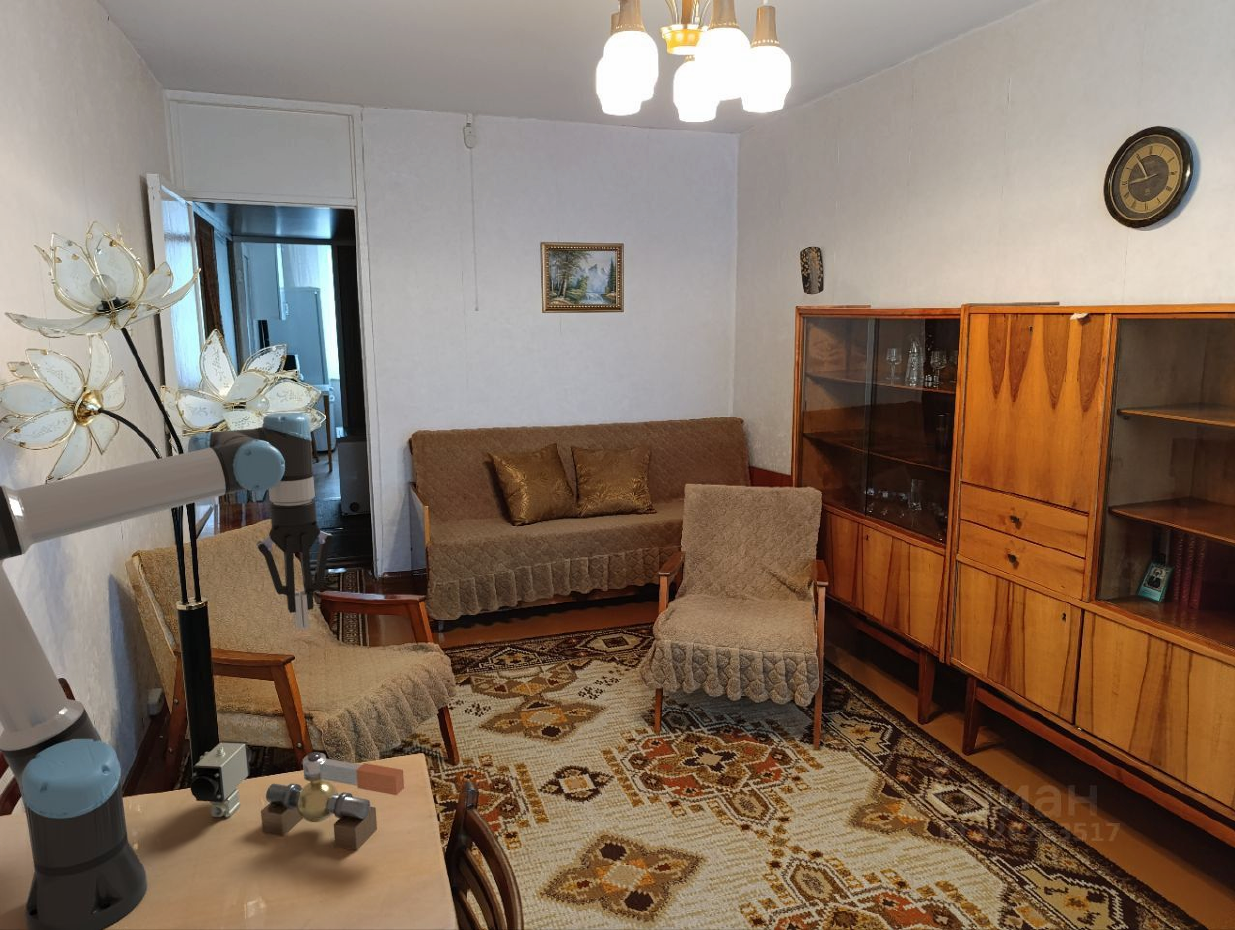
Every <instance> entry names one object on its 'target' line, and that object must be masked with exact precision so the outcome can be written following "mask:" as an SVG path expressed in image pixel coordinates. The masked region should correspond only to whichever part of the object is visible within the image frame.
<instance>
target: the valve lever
mask: <svg viewBox="0 0 1235 930" xmlns="http://www.w3.org/2000/svg"><path fill="white" fill-rule="evenodd" d="M302 766H303V778H304V780H305V781H307V782H310V781H316V780H320V779H322V780H325V781H328V782H329V781H330V782H335V783H340V784H346V785H351V786H356V787H357V789H359V790H367V791H371V792H375V793H381V794H386V795H387V794H388V795H391V796H392V795H393V796H398V795H399V794H400V793H401V792H402V791H403V789H405V782H404V770H403V769H400V768H394V767H390V766H383V765H377V764H371V763H365V762H364V763H362V764H359V763H354V762H353V763H352V762H348V761H341V760H336V759H330V758H327V756H326V754H325V753H322V752H319V751H313V752H310V753H308V754H307V755H306V756H304V758H302Z"/></svg>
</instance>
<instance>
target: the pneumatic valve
mask: <svg viewBox="0 0 1235 930" xmlns="http://www.w3.org/2000/svg"><path fill="white" fill-rule="evenodd" d="M251 759H252V751H251V749H250V748H249V746H248V742H247V741H234V740H233V741H231V740H230V741H229V740H228V741H227V740H222V741H220V742H219V743H218V744H217V745H216V746H215V747H213V749H211V751H205V752H204V755H201V756H199V761H198V762H197V763H196V764H195V765H194V766H193V767H192V776H191V777H190V791H191V795H192V796H193V797H194V798H195V800H196V801H197V802H209V803H210V805H211V809H210V812H211V817H214V818H220V817H225V818H230V817H231V816H232V815H233V814H234V813H235V812H236V811H237V810H238V809H239V808H240V806H241V803H240V799H239V798H240V791H239V789H238V788H237V787H239V785H240V784H241V783H242V782H243V781H245V780H246V778H247V777H248V776H250V774H251V772H250V763H249V762H250V761H251Z"/></svg>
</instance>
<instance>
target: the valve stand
mask: <svg viewBox="0 0 1235 930" xmlns="http://www.w3.org/2000/svg"><path fill="white" fill-rule="evenodd" d="M265 799H266V802H267V803H268V804H267V805H265V806H264V808H262V809H261V810H260V817H261V818H260V819H261V827H262V828H261V829H262V833H263V834H267V835H268V834H269V835H274V836H278V837H284V836H285V835H287V833H289V832H290V831H291V830H292V829H293V828H294V827H296V826H297V825H298V823H301V821H302V820H303V819H304V821H306V822H310V823H321V822H324V821H326V820H327V819H329V818H330V817H332V816H333V814H334V817H335V818H337V820H336V821H335V822H334V823H333V835H334V836H333V837H334V847H336V848H341V849H346V850H351V851H356V852H357V851H358V850H359V849H360V848H361V847H362V846H363V845H364V844H365V843H366V841H367V840H368V839H369V838H370V837H371V836H372V835H373V834H374V833H375V832H376V831H377V829H378V824H377V822H378V821H377V809H376V806H371V801H370V800H369V799H366V798H360V797H354V796H353V794H352V793H350V792H345V791H344V792H341V793H338V789H337V788H336V787H335V786H334V784H332V783H331V781H330V782H329V781H328V780H323V779H320V780H316V781H309V782H307V784H305V785H304V786H303V787H302V785H301V784H298V783H290V784H288V785H284V784H279V783H272V784H270V786H269V787H268V788H267V790H266V794H265Z"/></svg>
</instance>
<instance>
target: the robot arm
mask: <svg viewBox="0 0 1235 930" xmlns="http://www.w3.org/2000/svg"><path fill="white" fill-rule="evenodd" d="M262 419H263V420H262V426H261V427H256V428H255V427H254V428H251V429H250V428H247V429H235V430H223V431H222V430H221V431H212V430H211V431H208V432H204V433H203V432H202V433H194V434H193V435H192V436H190V438H189V439H188V443H187V452H185V453H184V452H183V453H180V454H175V455H171V456H165V457H162V458H156V459H153V460H149V461H148V460H147V461H144V462H143V461H142V462H140V463H139V462H138V463H134V464H130V465H126V466H125V465H124V466H120V467H115V468H111V469H108V470H107V469H106V470H102V471H98V472H93V473H88V474H84V475H80V476H74V477H70V478H67V479H62V480H57V481H52V482H49V483H48V482H47V483H42V484H39V485H34V486H29V487H26V488H21V489H12V488H11V487H8V486H6V485H4V484H3V485H0V724H1V725H2V727H3V731H2V733H1V734H0V751H1V754H2V755H3V757H4V759H5V761H6V763H7V765H8V767H9V769H10V770H11V773H12V774H13V776H14V778H15V781H16V782H17V784H18V788H19V791H20V795H21V799H22V804H23V807H24V812H25V816H26V821H27V826H28V834H29V841H30V846H31V847H30V848H31V853H32V859H33V866H34V873H33V876H32V880H31V883H30V884H31V885H30V889H29V892H28V896H27V900H26V905H25V919H26V925H27V929H28V930H102V929H104V928H106V927H108V926H111V925H112V924H114V923H116V922H118V921H119V920H120V919H122V918H124V917H125V916H126V915H128V914H129V913H131V911H132V910H134V909H135V908H136V907H137V906H138V905H139V904H140V903H141V901H142V900H143V898H144V897H145V895H146V893H147V889H148V882H147V874H146V869H145V867H144V865H143V864H142V862H141V860H140V858H139V857H138V855H137V854H136V851H135V850H134V849H133V847H132V846H131V844H130V841H129V839H128V838H129V837H128V832H127V831H128V829H127V823H126V822H127V821H126V815H125V814H126V812H125V807H124V798H123V792H122V791H123V788H122V784H121V776H122V775H121V772H122V770H121V764H120V761H119V759H118V755H117V753H116V751H115V749H114V747H113V746H111V745H110V744H108V743H107V742H104V741H102V738H101V736H100V733H99V731H98V730H97V728H96V727H95V725H94V724H93V723H92V721H91V718H90V716H89V714H88V712H87V710H86V709H85V707H84V704H83V703H82V702H81V701H79V700H74V699H70V698H69V699H68V698H67V696H66V693H65V692H64V690H63V688H62V686H61V684H60V682H59V680H58V677H57V675H56V673H55V672H54V669H53V667H52V665H51V663H50V661H49V659H48V657H47V654H46V653H45V651H44V649H43V647H42V645H41V643H40V641H39V639H38V636H37V634H36V633H35V630H34V629H33V626H32V624H31V622H30V620H29V617H28V616H27V615H26V612H25V610H24V608H23V605H22V604H21V602H20V600H19V597H18V595H17V593H16V591H15V589H14V588H13V586H12V583H11V582H10V579H9V578H8V575H7V573H6V571H5V569H4V567H3V563H4V561H5V560H7V559H10V558H11V559H12V558H14V557H18V556H22V555H25V554H26V553H27V552H28V550H29V549H30V548H31V546H32V545H34V544H38V543H41V542H45V541H50V540H54V539H58V538H61V537H65V536H69V535H72V534H76V533H80V532H84V531H85V532H86V531H89V530H92V529H97V528H100V527H105V526H108V525H112V524H116V523H119V522H120V523H121V522H125V521H127V520H132V519H136V518H138V517H142V516H147V515H150V514H155V513H158V512H163V511H166V510H170V509H173V508H179V507H181V506H186V505H190V504H193V503H198V502H201V501H205V500H209V499H214V498H217V497H220V496H225V495H229V494H233V493H237V492H241V491H245V490H247V491H250V492H264V491H268V496H269V501H270V502H271V504H270V506H269V509H270V523H271V529H270V531H269V532H268V537H266V538H265V539H263V540H262V541H261V540H260V541H258V542H257V543H256V548H257V549H258V551H259V552H260V553H261V554H262V555H263V557H264V559H265V562H266V565H267V568H268V572H269V575H270V577H271V578H270V579H271V580H272V583H273V587H274V588H275V591H276V593H277V594H278V595H285V596H286V600H287V601H286V603H287V610H288V612H289V613H290V614H292V613H294V623H295V624H294V625H295V628H296V630H297V631H299V632H300V631H303V629H304V630H309V629H310V625H309V624H310V623H309V612H308V611H310V610H313V609H314V594H313V593H314V591H316V590H318V589H322V588H323V586H324V581H325V575H326V569H327V567H326V566H327V563H328V562H327V561H328V556H329V551H330V550H329V549H330V548H331V546H332V544H333V542H334V540H335V539H334V536H333V535H332V533H330V532H324V531H322V530H321V528H320V526H319V524H318V522H317V507H316V501H315V500H314V499H315V497H316V492H315V482H314V480H315V479H314V470H313V451H312V450H313V449H312V440H313V439H312V435H311V427H310V421H309V418H308V417H307V416H306V415H304V414H303V413H297V412H286V413H284V412H281V413H274V414H267V415H265V416H264V417H263V418H262ZM317 539H318V540H317ZM316 540H317V541H318V543H319V545H318V546H319V547H318V552H317V559H316V566H315V570H314V575H313V576H314V579H313V578H312V569H311V558H310V557H311V554H310V550H311V548H312V546H313V545H314V543H315V541H316ZM273 543H274V544H275V546H277V548H279V549H280V550H281V551H282V552H283V556H284V557H283V558H284V560H283V561H284V576H285V578H284V580H285V585H284V584H283V583H282V580H281V576H280V574H279V571H278V568H277V565H276V562H275V558H274V557H273V554H272V552H271V551H273V548H274V547H273ZM295 553H299V555H300V563H301V564H300V565H301V576H302V583H303V590H299V592H298V591H296V586H295V585H296V584H295V567H294V565H295V564H294V563H295V562H294V559H295V557H294V556H295V555H294V554H295Z"/></svg>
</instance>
